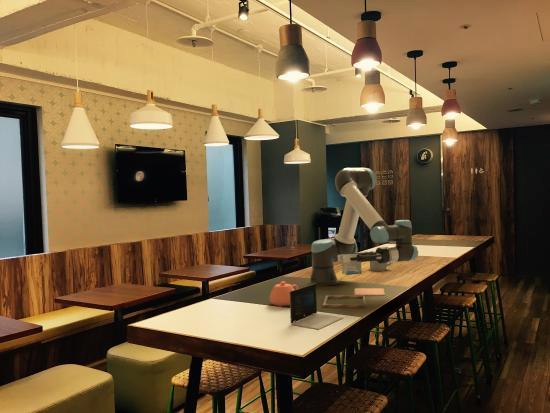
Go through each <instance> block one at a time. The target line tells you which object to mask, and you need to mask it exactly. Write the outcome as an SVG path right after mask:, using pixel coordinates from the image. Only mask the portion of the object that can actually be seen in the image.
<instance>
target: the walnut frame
mask: <svg viewBox="0 0 550 413" xmlns="http://www.w3.org/2000/svg"><path fill="white" fill-rule="evenodd" d="M328 299H362V304H353V303H352V304H346V303H345V304H343V303H342V304H340V303H339V304H337V303H336V304H335V303H333V304H332V303H331V304H329V303H328ZM322 303H323V304H322V308H366V306H367V305H366V295H325V297H324V300H323V302H322Z"/></svg>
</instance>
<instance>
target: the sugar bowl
mask: <svg viewBox="0 0 550 413" xmlns="http://www.w3.org/2000/svg"><path fill="white" fill-rule="evenodd" d="M294 287H296V288H294ZM296 289H299V285H297V284H290V283H286V281H280V282H279V284H278V283H276V284H275V285H274V286H273V288H272V289H271V292H270V295H269V302H271V304H272V305H274V306H278V307H279V308H282V307H284V306H290V291H293V290H296Z"/></svg>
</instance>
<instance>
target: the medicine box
mask: <svg viewBox="0 0 550 413" xmlns="http://www.w3.org/2000/svg"><path fill="white" fill-rule="evenodd" d="M354 255H356V256H357V254H351V255H341V260H342V261H341V274H343V275H346V276H351V275H360V274H362V262H361V261H360V262H358V261H357V262H347V263H343V256H354ZM359 256H360V254H359Z"/></svg>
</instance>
